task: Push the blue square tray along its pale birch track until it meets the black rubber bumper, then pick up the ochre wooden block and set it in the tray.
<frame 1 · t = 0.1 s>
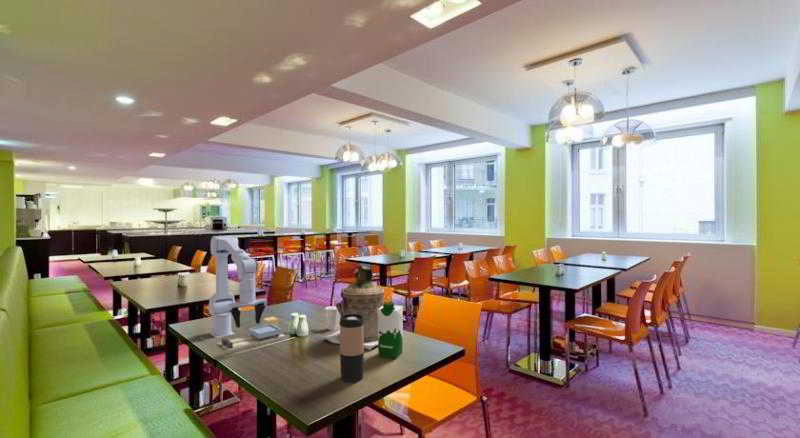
hand: (247, 325, 153), 10 cm above the table, tool pointing down, fingers open, 7 cm apart
smoothie: (332, 329, 181), on the table
blue square tray: (265, 332, 169), point 2 cm above the table, slide at 10.0 cm
cookie jar: (362, 338, 168), on the table
milk carton: (390, 355, 148), on the table
travel mug: (352, 378, 128), on the table
ochre block: (270, 329, 181), on the table
cart track: (252, 340, 165), on the table
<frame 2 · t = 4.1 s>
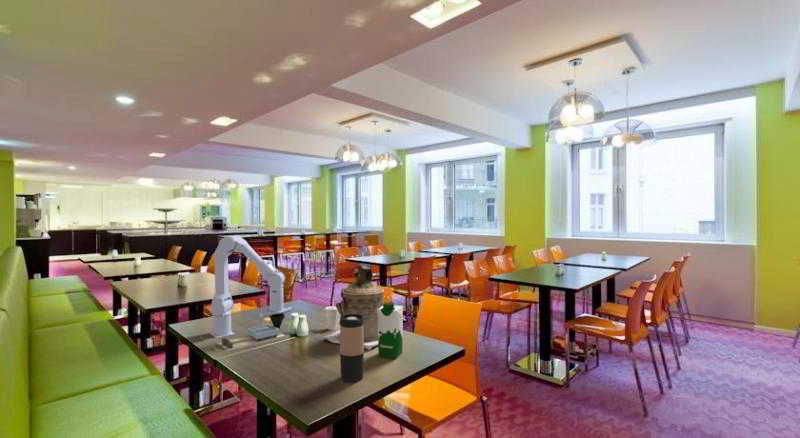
hand: (276, 330, 172), 2 cm above the table, tool pointing down, fingers closed
blue square tray: (263, 333, 168), point 2 cm above the table, slide at 9.1 cm, touching gripper
everything else where it was.
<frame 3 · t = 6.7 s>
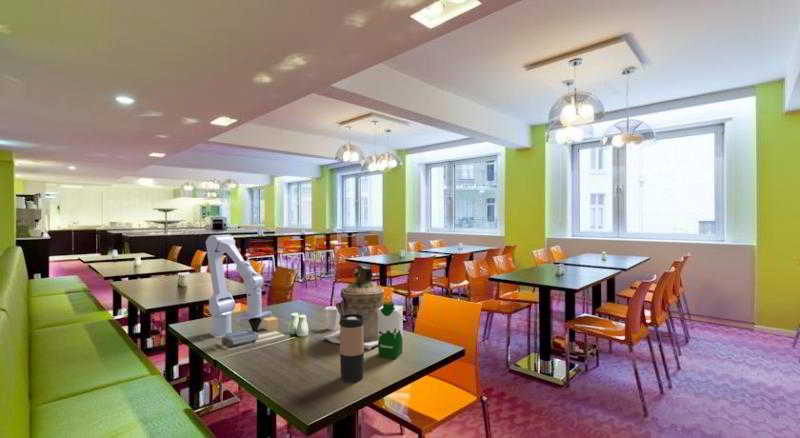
hand: (254, 335, 166), 2 cm above the table, tool pointing down, fingers closed, pressing on blue square tray
blue square tray: (241, 337, 162), point 2 cm above the table, slide at -0.1 cm, touching gripper
everything else where it was.
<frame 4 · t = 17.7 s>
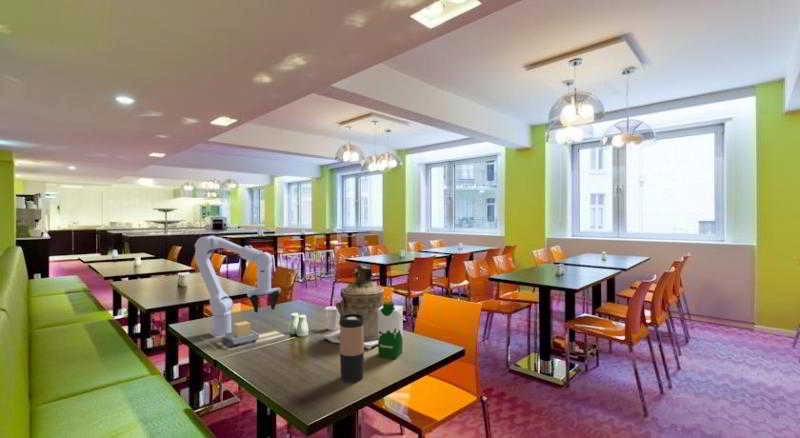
hand: (264, 310, 174), 10 cm above the table, tool pointing down, fingers open, 7 cm apart
blue square tray: (241, 337, 162), point 2 cm above the table, slide at 0.0 cm, touching ochre block
ochre block: (242, 335, 162), point 3 cm above the table, touching blue square tray
everything else where it was.
at the end: blue square tray slide at 0.0 cm; ochre block 0.1 cm off-centre on the blue square tray, point 2.8 cm above the blue square tray's base; ochre block tilted 0° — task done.
